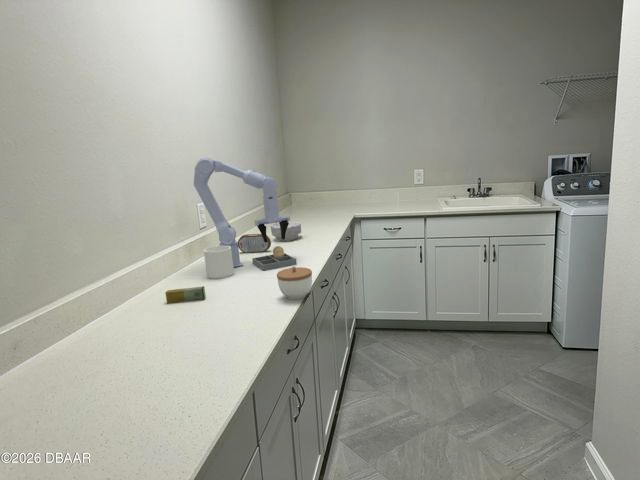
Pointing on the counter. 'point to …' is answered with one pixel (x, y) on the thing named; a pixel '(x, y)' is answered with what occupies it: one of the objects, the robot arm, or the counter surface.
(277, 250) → the egg
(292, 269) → the lidded jar
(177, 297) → the medication box
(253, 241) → the tin
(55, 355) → the counter surface
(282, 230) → the robot arm
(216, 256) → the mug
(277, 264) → the grey compartment tray
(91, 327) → the counter surface
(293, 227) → the paper bowls
